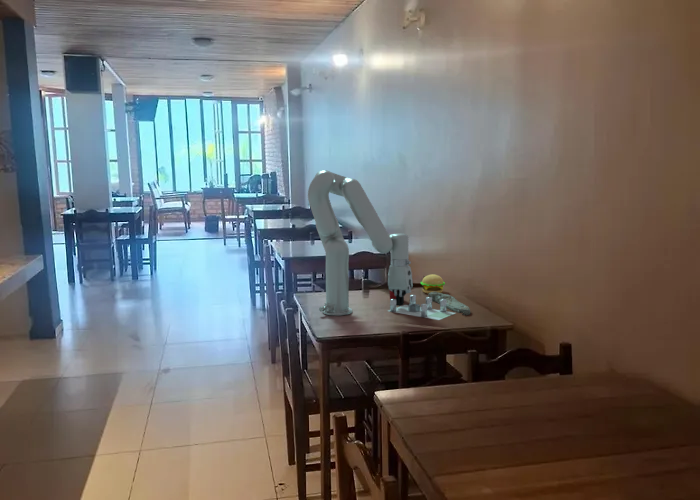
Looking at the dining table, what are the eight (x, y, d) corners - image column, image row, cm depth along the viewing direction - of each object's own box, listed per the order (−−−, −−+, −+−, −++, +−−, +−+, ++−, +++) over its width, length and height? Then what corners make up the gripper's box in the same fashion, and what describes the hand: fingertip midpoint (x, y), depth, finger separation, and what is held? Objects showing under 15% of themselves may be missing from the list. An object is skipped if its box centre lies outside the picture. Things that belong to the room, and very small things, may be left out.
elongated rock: (454, 320, 242) (476, 319, 245) (455, 307, 241) (477, 307, 244) (422, 297, 275) (442, 297, 278) (423, 286, 274) (443, 286, 277)
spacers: (429, 318, 234) (429, 306, 233) (388, 311, 246) (388, 299, 246) (447, 311, 245) (447, 299, 245) (407, 304, 258) (408, 293, 257)
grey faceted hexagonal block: (418, 312, 244) (418, 306, 244) (406, 311, 246) (406, 305, 246) (421, 310, 248) (421, 304, 248) (409, 309, 250) (409, 303, 250)
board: (439, 322, 232) (439, 319, 232) (386, 313, 247) (386, 310, 247) (456, 315, 243) (456, 313, 243) (405, 306, 258) (405, 304, 258)
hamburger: (447, 294, 283) (447, 277, 282) (422, 294, 283) (422, 277, 282) (442, 289, 295) (443, 272, 294) (418, 289, 295) (419, 272, 294)
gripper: (419, 263, 247) (419, 305, 250) (390, 260, 257) (390, 301, 259) (409, 265, 241) (409, 309, 244) (380, 262, 251) (380, 304, 253)
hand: (399, 305), depth 252 cm, fingers closed
